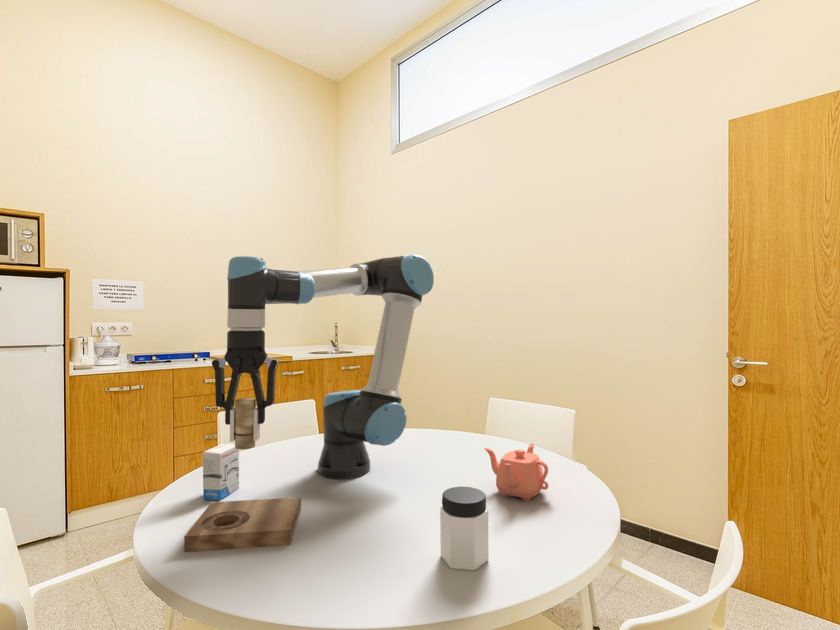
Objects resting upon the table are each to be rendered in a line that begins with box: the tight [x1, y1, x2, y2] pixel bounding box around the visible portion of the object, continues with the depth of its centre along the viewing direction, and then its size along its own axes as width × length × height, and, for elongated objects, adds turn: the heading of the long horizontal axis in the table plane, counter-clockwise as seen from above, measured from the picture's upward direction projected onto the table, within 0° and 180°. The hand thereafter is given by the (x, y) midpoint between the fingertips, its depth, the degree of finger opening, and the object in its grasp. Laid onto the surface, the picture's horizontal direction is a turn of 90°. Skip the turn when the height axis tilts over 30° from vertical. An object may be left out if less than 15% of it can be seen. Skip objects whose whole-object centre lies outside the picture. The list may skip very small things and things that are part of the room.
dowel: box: [234, 397, 257, 451], centre depth 97 cm, size 4×4×10 cm
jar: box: [439, 486, 490, 571], centre depth 85 cm, size 9×8×12 cm
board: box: [183, 496, 302, 553], centre depth 97 cm, size 20×16×3 cm
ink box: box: [202, 443, 240, 501], centre depth 116 cm, size 9×5×12 cm, turn 168°
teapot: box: [483, 443, 549, 502], centre depth 115 cm, size 14×14×11 cm
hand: (245, 439), depth 97 cm, fingers closed on dowel, 4 cm apart
